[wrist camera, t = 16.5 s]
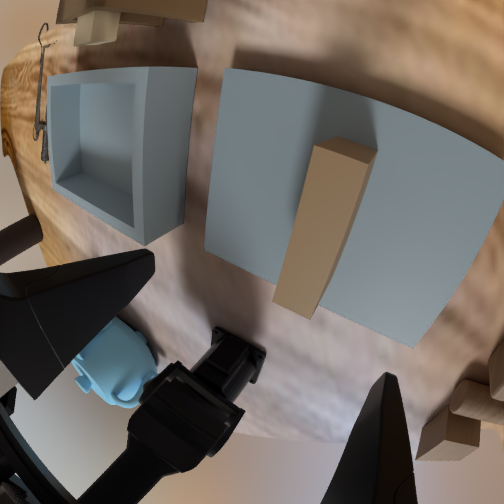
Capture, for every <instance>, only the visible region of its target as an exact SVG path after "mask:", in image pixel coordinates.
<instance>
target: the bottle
mask: <svg viewBox="0 0 504 504" xmlns="http://www.w3.org/2000/svg"><path fill="white" fill-rule="evenodd" d="M42 239H43V234H42V230H41V227H40V224H39V222H38V220H37V218H36V216H35V215H33V214H31V215H29V216H27V217H25V218H23V219H21V220H19V221H17V222H15V223H14V224H12V225H10V226H8V227H6V228H4V229H3V230H1V231H0V265H2V264H4V263H5V262H7V261H8V260H10V259H11V258H13V257H15V256H17V255H18V254H20V253H22V252H23V251H25V250H27V249H28V248H30V247H32V246H33V245H35V244H37V243H39V242H41V241H42Z"/></svg>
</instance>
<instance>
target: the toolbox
mask: <svg viewBox="0 0 504 504" xmlns="http://www.w3.org/2000/svg"><path fill="white" fill-rule="evenodd" d="M206 5H207V0H60V3H59V8H58V13H57V19H56V24H68V23H77V19H78V17H80V16H82V15H84V14H87V13H89V12H92V11H94V10H95V11H115V12H121V14H120V20H119V24H133V25H144V26H153V27H155V26H162V25H163V24H164V18H171V19H176V20H181V21H186V22H191V23H193V22H203V21H204V15H205V10H206ZM197 70H198V68H188V67H124V68H109V69H97V70H88V71H80V72H73V73H66V74H60V75H54V76H49V77H48V79H47V131H48V147H49V159H50V169H51V177H52V185H53V190H55V191H56V192H58V193H59V194H61V195H62V196H64V197H65V198H67V199H69V200H70V201H72V202H73V203H75V204H76V205H78V206H79V207H81V208H83V209H84V210H86V211H87V212H89V213H91V214H92V215H94V216H95V217H97V218H99V219H100V220H102V221H103V222H105V223H107V224H108V225H110V226H112V227H113V228H115V229H117V230H118V231H120V232H122V233H123V234H125V235H127V236H128V237H130V238H132V239H133V240H135V241H137V242H138V243H140V244H142V245H143V246H146V245H148V244H149V243H151V242H153V241H154V240H156V239H158V238H159V237H161V236H163V235H164V234H166V233H168V232H169V231H171V230H173V229H174V228H176V227H178V226H180V225H181V224H183V223H184V205H185V187H186V172H187V159H188V148H189V137H190V127H191V117H192V108H193V100H194V92H195V84H196V77H197Z"/></svg>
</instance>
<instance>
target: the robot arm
mask: <svg viewBox="0 0 504 504" xmlns="http://www.w3.org/2000/svg"><path fill="white" fill-rule="evenodd" d="M154 273H155V256H154V253H153V252H151V251H149V250H148V249H139V250H134V251H128V252H123V253H118V254H113V255H107V256H102V257H97V258H92V259H87V260H82V261H77V262H72V263H67V264H63V265H57V266H53V267H47V268H42V269H35V270H28V271H21V272H13V273H0V504H137V503H138V502H139V501H140V500H141V499H142V498H143V497H144V496H145V495H146V494H147V493H148V492H149V491H150V490H151V489H152V488H153V487H154V486H155V484H157V482H158V481H159V480H160V479H161V478H162V477H164V476H168V475H172V474H175V473H179V472H181V473H183V472H186V471H189V470H192V469H193V468H195V467H196V466H197V465H198V464H199V463H200V462H201V461H202V460H203V459H204V457H205V456H206V455H207V456H209V457H213V456H214V455H215V454H216V453H217V452H218V451H219V450H220V449H221V448H222V447H223V445H224V444H225V443H226V442H227V440H228V439H229V437H230V436H231V434H232V433H233V431H234V429H235V428H236V426H237V425H238V423H239V421H240V420H241V418H242V416H243V415H244V413H245V410H243V409H242V408H239V407H238V406H236V405H235V404H233V402H234V401H235V400H236V398H237V397H238V396H239V394H240V393H241V391H242V390H243V389H244V387H245V386H246V384H247V383H248V382H250V383H252V384H255V383H256V381H257V379H258V377H259V374H260V371H261V368H262V366H263V363H264V360H265V358H266V354H265V353H264V352H263V351H261V350H259V349H257V348H255V347H253V346H251V345H250V344H248V343H246V342H244V341H242V340H241V339H239V338H237V337H235V336H233V335H232V334H230V333H228V332H226V331H225V330H223V329H221V328H219V327H217V326H216V327H214V328H213V330H212V340H211V348H210V349H209V350H208V351H207V352H206V353H205V354H204V355H203V356H202V358H201V359H200V360H199V361H198V362H197V363H196V364H195V365H194V366H193V367H192V368H191V370H188V369H187V368H186V367H185V366H183V365H182V363H181V362H180V361H179V360H178V361H177V362H176V363H174V364H173V363H170V364H169V365H168V366H167V367H166V368H165V369H164V370H163V371H162V372H161V373H159V374H158V375H157V376H155V377H153V378H152V379H150V380H149V381H147V382H146V383H145V384H144V385H143V393H142V394H141V397H140V398H139V401H138V402H139V403H140V404H141V406H140V407H139V408H138V409H137V410H136V411H135V413H134V414H133V415H132V416H131V418H130V419H129V423H128V427H127V431H128V432H129V433H128V440H127V448H126V450H125V451H124V452H123V453H122V454H121V455H120V456H119V457H118V458H117V459H116V460H115V461H114V462H113V463H112V464H111V466H110V467H109V468H108V469H107V470H106V471H105V472H104V473H103V474H102V475H101V476H100V477H99V478H98V479H97V480H96V481H95V482H94V483H93V484H92V485H91V486H90V487H89V488H88V489H87V490H86V491H85V492H84V493H83V494H82V495H81V496H80V497H79V498H78V499H77V500H76V499H75V498H74V497H73V496H72V495H71V494H70V493H69V492H68V491H67V490H66V489H65V488H64V487H63V485H62V484H61V483H60V482H59V481H58V480H57V479H56V478H55V477H54V476H53V474H52V473H51V472H50V471H49V470H48V469H47V467H46V466H45V465H44V464H43V463H42V461H41V460H40V459H39V458H38V456H37V455H36V454H35V452H34V451H33V450H32V449H31V447H30V446H29V445H28V443H27V442H26V440H25V439H24V438H23V436H22V435H21V434H20V432H19V431H18V429H17V428H16V426H15V425H14V423H13V421H12V420H11V418H10V417H9V416H10V415H11V414H13V413H14V407H15V399H16V392H17V388H16V386H15V385H16V384H17V383H19V384H20V385H21V386H22V387H23V388H24V389H25V391H26V392H27V393H28V394H29V395H30V396H31V397H32V398H33V399H34V400H36V399H37V398H38V397H39V396H40V395H41V394H42V392H43V391H44V390H45V389H46V388H47V387H48V386H49V385H50V384H51V383H52V382H53V380H54V379H55V378H56V377H57V376H58V375H59V374H60V373H61V372H62V371H63V370H64V368H65V367H66V366H67V365H68V364H69V363H70V362H71V361H72V360H73V359H74V358H75V357H76V356H77V355H78V354H79V353H80V352H81V351H82V350H83V349H84V348H85V347H86V346H87V345H88V344H89V343H90V342H91V341H92V340H93V338H94V337H95V336H96V335H97V334H98V333H99V332H100V331H101V330H102V329H103V328H104V327H105V326H106V325H107V324H108V323H109V322H110V321H111V320H112V319H114V318H115V317H116V316H117V315H118V314H119V313H120V312H121V311H122V310H123V309H124V308H125V307H126V306H127V305H128V304H129V303H130V302H131V301H132V299H133V298H134V297H135V296H136V295H137V294H138V292H139V291H140V290H141V289H142V288H143V287H144V285H145V284H146V283H147V282H148V281H149V280H150V278H151V277H152V276H153V275H154ZM413 471H414V469H413V461H412V454H411V447H410V440H409V434H408V428H407V423H406V417H405V412H404V407H403V402H402V397H401V393H400V388H399V384H398V379H397V377H396V376H395V375H393V374H391V373H389V372H385V373H383V375H382V376H381V377H380V378H379V379H378V380H377V381H376V382H375V383H374V384H373V386H372V387H371V389H370V391H369V394H368V396H367V398H366V401H365V403H364V405H363V407H362V409H361V412H360V414H359V416H358V418H357V420H356V422H355V424H354V426H353V429H352V431H351V434H350V436H349V439H348V442H347V444H346V447H345V449H344V452H343V454H342V457H341V459H340V462H339V464H338V467H337V469H336V472H335V474H334V476H333V478H332V480H331V483H330V485H329V487H328V489H327V492H326V493H325V495H324V497H323V499H322V501H321V503H320V504H418V502H417V495H416V486H415V477H414V473H413ZM15 473H17V475H18V476H19V477H20V478H19V477H18V476H16V475H15Z"/></svg>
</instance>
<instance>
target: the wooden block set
mask: <svg viewBox="0 0 504 504" xmlns="http://www.w3.org/2000/svg"><path fill="white" fill-rule="evenodd" d="M488 366H489V377H490V386H487V385H483V384H480V383H477V382H474V381H470V380H463V381H461V382H460V383H459V384H458V385H457V387H456V388H455V390H454V392H453V394H452V397H451V400H450V405H448V406H447V407H445V408H444V409H443V410H442V411H441V412H440V413H439V414H438V415H437V416H436V417H435V418H433V419H432V420H431V421H430V422H429V423H428V424H427V425H425V426H424V427H423V428H422V432H421V437H420V442H419V446H418V451H417V455H416V459H415V460H419V461H458V460H461V459H463V458H464V457H466V456H467V455H469V454H470V453H471V452H473V451H474V450H476V449H477V448H479V442H480V426H481V420H482V421H486V422H490V423H495V424H500V425H504V340H503V341H502V342H501V344H500V345H499V346H498V348H497V349H496V350H495V351H494V353H493V354H492V355H491V357H490V358H489V360H488Z"/></svg>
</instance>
